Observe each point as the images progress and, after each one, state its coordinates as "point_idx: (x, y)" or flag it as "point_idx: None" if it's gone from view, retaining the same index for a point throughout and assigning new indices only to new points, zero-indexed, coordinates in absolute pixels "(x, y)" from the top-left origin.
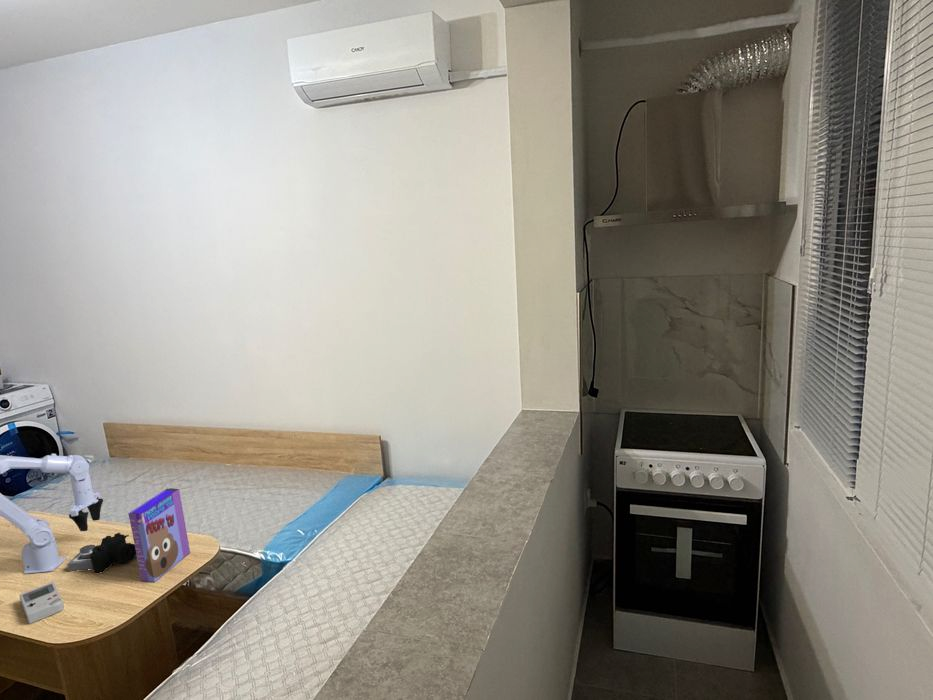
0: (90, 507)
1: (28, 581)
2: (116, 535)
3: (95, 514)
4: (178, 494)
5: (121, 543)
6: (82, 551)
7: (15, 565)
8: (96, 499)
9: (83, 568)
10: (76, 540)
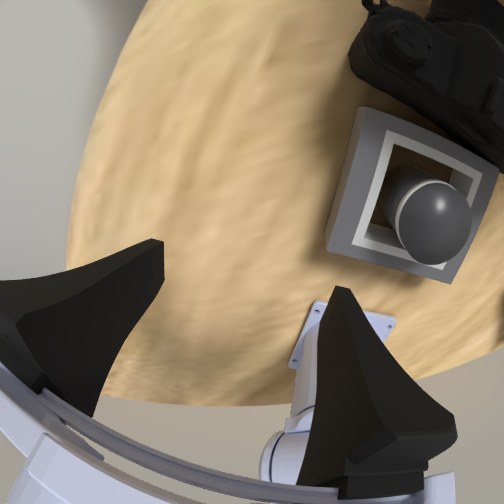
0: (98, 362)
1: (411, 355)
2: (431, 45)
3: (134, 288)
4: None
5: (493, 33)
6: (460, 245)
7: (284, 395)
8: (45, 480)
9: None
10: (167, 294)
